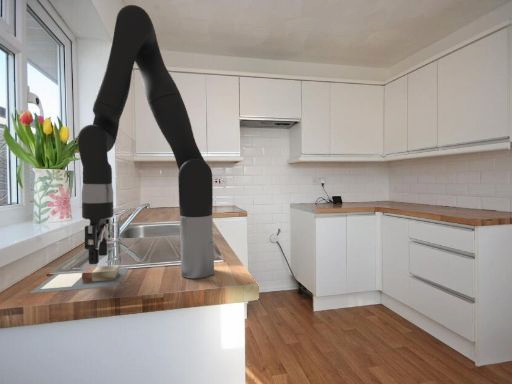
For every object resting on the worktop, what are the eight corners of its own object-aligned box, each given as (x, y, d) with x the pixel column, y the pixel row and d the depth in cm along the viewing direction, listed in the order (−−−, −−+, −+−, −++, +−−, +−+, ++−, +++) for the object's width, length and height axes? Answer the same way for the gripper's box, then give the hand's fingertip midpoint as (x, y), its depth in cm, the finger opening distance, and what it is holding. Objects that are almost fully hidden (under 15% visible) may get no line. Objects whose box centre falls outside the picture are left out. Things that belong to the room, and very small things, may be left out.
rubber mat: (129, 269, 90) (129, 267, 90) (118, 287, 75) (118, 285, 75) (56, 274, 85) (56, 272, 85) (29, 295, 71) (28, 292, 70)
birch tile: (119, 273, 84) (118, 265, 84) (114, 279, 79) (114, 270, 79) (88, 275, 82) (88, 267, 82) (82, 282, 78) (81, 273, 77)
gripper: (105, 202, 74) (106, 266, 74) (118, 198, 87) (119, 252, 88) (72, 203, 72) (73, 268, 73) (91, 198, 86) (91, 253, 87)
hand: (98, 259), depth 81 cm, fingers open, 8 cm apart
